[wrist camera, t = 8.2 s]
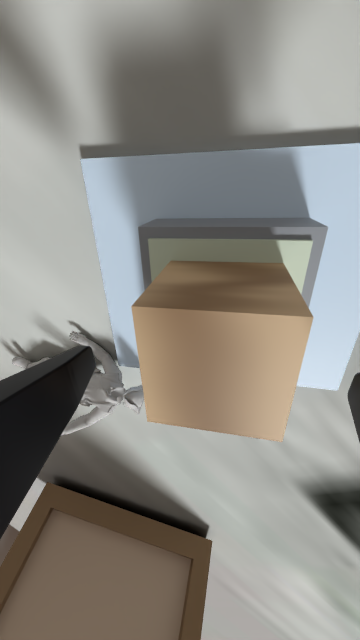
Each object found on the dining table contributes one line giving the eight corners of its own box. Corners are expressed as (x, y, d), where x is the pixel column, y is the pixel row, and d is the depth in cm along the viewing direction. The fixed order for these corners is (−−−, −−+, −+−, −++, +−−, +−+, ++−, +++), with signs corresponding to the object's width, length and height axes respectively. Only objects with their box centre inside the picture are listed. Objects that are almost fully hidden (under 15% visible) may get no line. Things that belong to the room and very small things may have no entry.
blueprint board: (421, 141, 11) (430, 139, 10) (334, 384, 18) (337, 390, 17) (86, 159, 14) (80, 158, 13) (121, 360, 21) (118, 365, 20)
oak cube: (283, 263, 11) (313, 317, 6) (267, 356, 13) (282, 442, 9) (170, 260, 12) (131, 306, 7) (175, 348, 14) (147, 421, 10)
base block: (309, 217, 12) (329, 227, 10) (282, 349, 16) (291, 382, 14) (156, 218, 14) (136, 227, 11) (164, 338, 18) (151, 366, 15)
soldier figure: (23, 324, 22) (117, 334, 16) (70, 337, 26) (161, 349, 20) (-9, 414, 21) (83, 467, 14) (46, 413, 25) (138, 454, 18)
